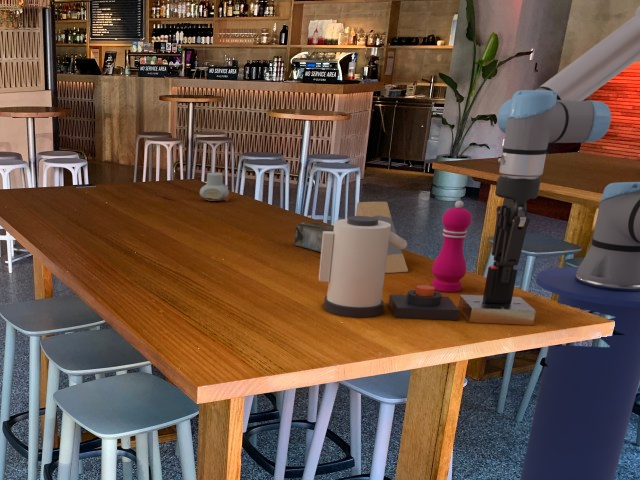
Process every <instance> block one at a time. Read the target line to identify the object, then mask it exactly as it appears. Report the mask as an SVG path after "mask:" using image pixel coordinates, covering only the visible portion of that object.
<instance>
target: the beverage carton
mask: <svg viewBox="0 0 640 480" xmlns="http://www.w3.org/2000/svg"><path fill="white" fill-rule="evenodd" d="M323 231H334V226H331V225H326V224H322V223H320V222H319V223H318V222H310V223H307V222H304V221H303V222H302V223H299V224H298V223H297V224H296V225H295V233H294V243H293V244H294V245H295V246H298V247H301V248H305V249H308V250H311V251H315V252H318V253H321V248H322V237H323Z"/></svg>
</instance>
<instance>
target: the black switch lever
mask: <svg viewBox="0 0 640 480" xmlns="http://www.w3.org/2000/svg"><path fill="white" fill-rule="evenodd" d="M496 273H497V267H496V266H493V265H489V266H488V267H487V272H486V278H485V279H486V280H485V284H484V291H483V294H482V296H483V301H484V302H485V303H502V304H511V301H512V297H514V290H515V285H516V280H517V274H518V269H517V268H516V267H513V271H512V277H511V282H510V287H509V293H508V298H493V297H492V295H493V290H494V284H495V278H496Z"/></svg>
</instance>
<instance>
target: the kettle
mask: <svg viewBox="0 0 640 480" xmlns="http://www.w3.org/2000/svg"><path fill="white" fill-rule="evenodd" d="M333 227H334V231H323V237H322V248H321V252H320V259H319V270H318V281H319V282H325V283H326V282H328V283H327V293H326V296H324V299H323V309H324V310H325V311H326V312H328V313H331V314H333V315H335V316H340V317H345V318H359V319H361V318H374V317H377V316H380V315H382V314H383V311H384V303H385V302H384V300H383V291H384V282H385V277H386V276H385V275H386V273H385V268H386V260H387V252H388V244H389V243H391V244H392V245H394V246H396V247H397V248H399V249H401V250H405V249H406V248H407V247H408V242H407V240H406V239H404V238H403V237H401V236H399V235H398V234H397V233H396V234H397V235H396V234H394V233H393V232H391V231H390V228H391V224H389V223H387V222H384V221H379V220H378V219H377V218H375V217H369V216H356V215H351V216H348V217H347V218H341V219H337V220H335V221H334V223H333Z"/></svg>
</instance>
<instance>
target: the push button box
mask: <svg viewBox="0 0 640 480" xmlns="http://www.w3.org/2000/svg"><path fill="white" fill-rule="evenodd" d="M415 293H416V289H410V290H408V291H407V293H406V294H392V293H391V294H389V296H388V297H389V299H388V306H389V307H390V310H391V311H392V314H393V315H394V317H395V318H396V319H413V320H414V319H417V320H437V321H458V320H459V315H460V310H459V309H458V306H456V304H455V303H454V302H453V300H451V298H450V297H449V296H443V295H442V293H441V292H440V291H437V290H435V291H434V296H420V295H416V294H415Z"/></svg>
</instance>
